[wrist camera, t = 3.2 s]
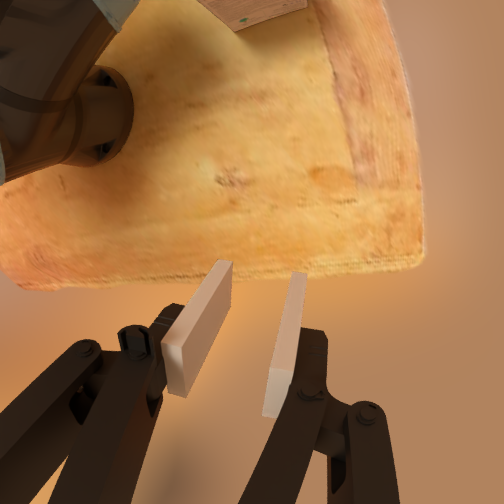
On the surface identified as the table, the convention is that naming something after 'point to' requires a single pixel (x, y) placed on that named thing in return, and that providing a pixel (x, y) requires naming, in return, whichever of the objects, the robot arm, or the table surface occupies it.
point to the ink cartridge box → (250, 10)
